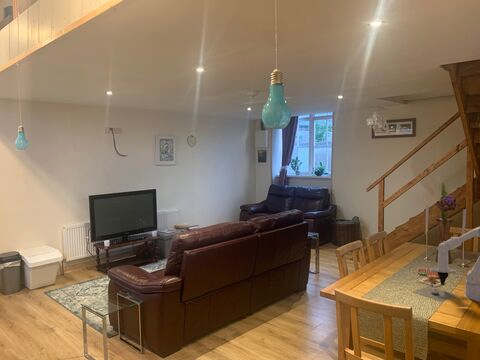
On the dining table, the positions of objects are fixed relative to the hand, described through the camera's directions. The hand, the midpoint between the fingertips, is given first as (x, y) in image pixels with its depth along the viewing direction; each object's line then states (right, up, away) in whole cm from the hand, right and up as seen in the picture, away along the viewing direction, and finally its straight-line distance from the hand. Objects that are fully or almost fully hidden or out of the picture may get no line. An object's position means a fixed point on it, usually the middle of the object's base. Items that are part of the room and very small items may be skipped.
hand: (442, 284), depth 223 cm
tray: (0, -4, +13) cm, 13 cm away
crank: (-7, -4, -2) cm, 8 cm away
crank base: (-7, -5, -5) cm, 10 cm away
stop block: (0, -3, +13) cm, 13 cm away
